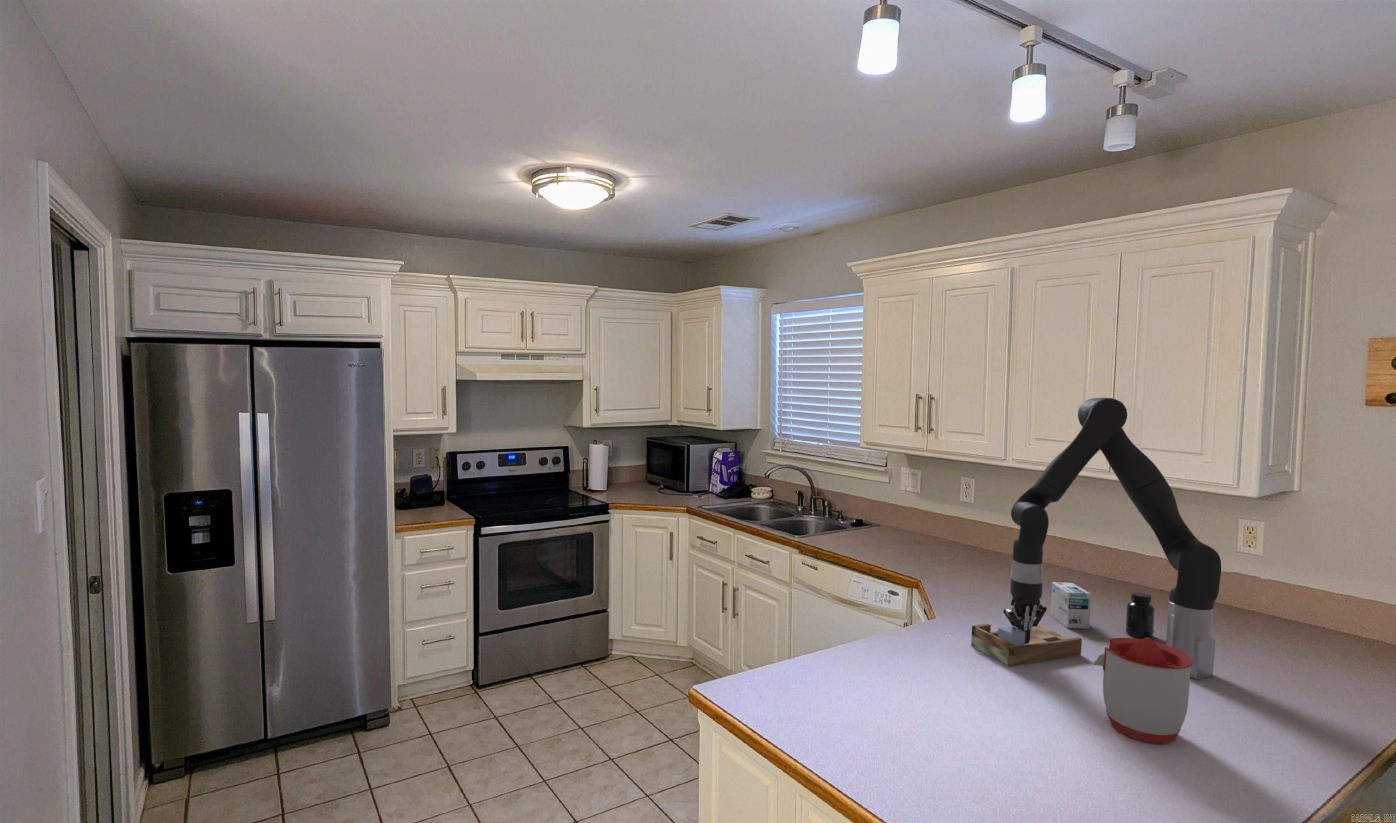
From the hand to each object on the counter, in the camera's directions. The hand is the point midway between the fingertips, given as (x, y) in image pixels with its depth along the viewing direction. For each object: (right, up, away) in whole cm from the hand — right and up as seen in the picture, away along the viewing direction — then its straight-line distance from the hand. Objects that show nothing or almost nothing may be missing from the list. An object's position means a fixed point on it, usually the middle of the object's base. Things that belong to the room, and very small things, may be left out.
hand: (1023, 642), depth 183 cm
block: (-5, -1, -3) cm, 5 cm away
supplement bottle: (+41, -4, +17) cm, 45 cm away
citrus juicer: (+7, -6, -36) cm, 37 cm away
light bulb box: (+26, -3, +26) cm, 37 cm away
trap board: (+2, -4, +4) cm, 6 cm away
